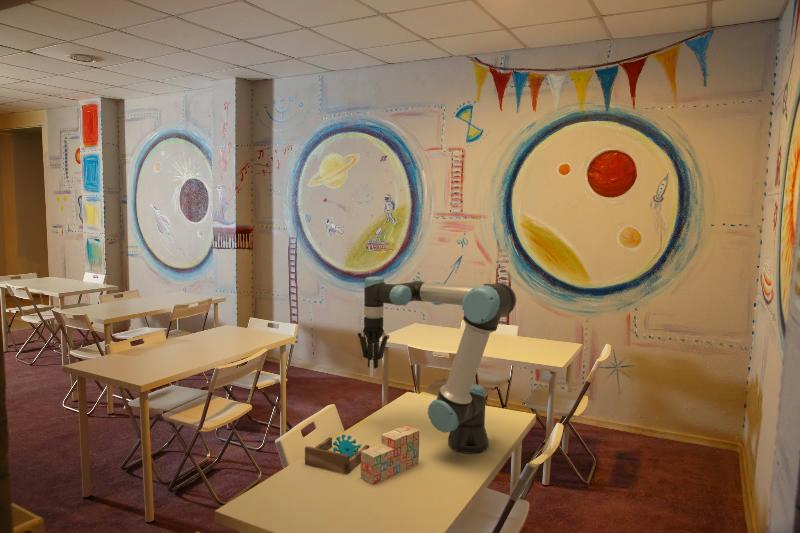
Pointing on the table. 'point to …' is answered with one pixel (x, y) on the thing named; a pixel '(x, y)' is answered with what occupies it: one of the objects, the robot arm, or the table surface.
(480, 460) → the table surface
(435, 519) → the table surface
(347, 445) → the gear
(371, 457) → the stack of blocks
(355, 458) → the wooden u-shaped enclosure
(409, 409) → the table surface
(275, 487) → the table surface
